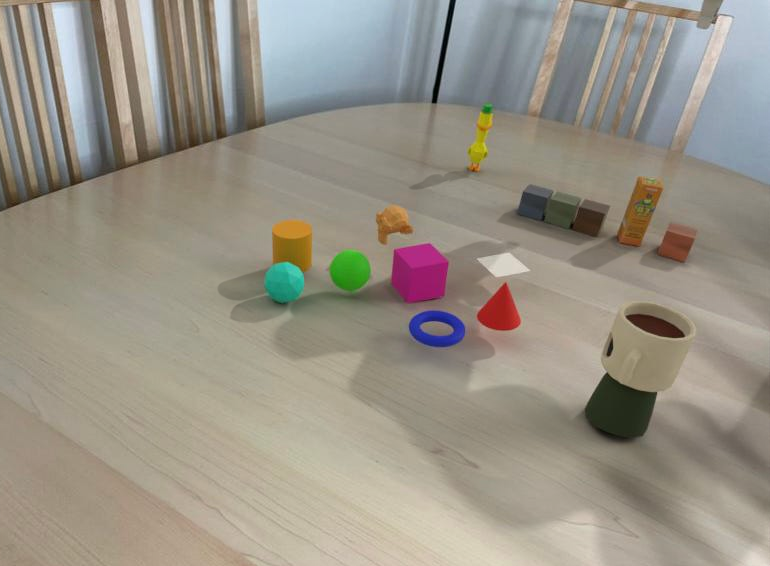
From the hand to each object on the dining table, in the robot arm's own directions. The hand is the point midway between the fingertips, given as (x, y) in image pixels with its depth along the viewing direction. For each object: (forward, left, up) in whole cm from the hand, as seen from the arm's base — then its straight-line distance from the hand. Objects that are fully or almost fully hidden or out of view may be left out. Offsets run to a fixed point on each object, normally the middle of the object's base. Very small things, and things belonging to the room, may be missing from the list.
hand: (705, 23), depth 115 cm
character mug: (+46, +51, -29) cm, 75 cm away
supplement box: (+14, +14, -29) cm, 35 cm away
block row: (+17, +11, -29) cm, 35 cm away
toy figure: (+24, -17, -29) cm, 41 cm away
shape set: (+58, +23, -29) cm, 69 cm away
